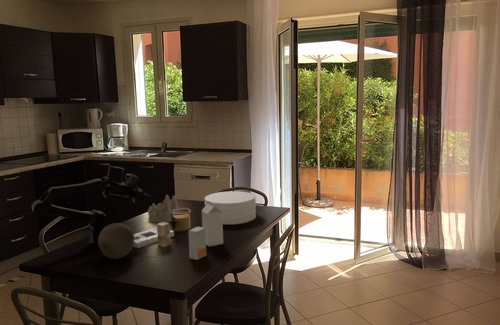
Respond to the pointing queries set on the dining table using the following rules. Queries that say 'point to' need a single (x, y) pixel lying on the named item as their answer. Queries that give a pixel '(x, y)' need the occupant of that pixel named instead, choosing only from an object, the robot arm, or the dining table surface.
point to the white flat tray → (147, 237)
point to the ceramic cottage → (162, 210)
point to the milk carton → (212, 224)
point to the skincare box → (197, 243)
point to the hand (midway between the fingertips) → (149, 194)
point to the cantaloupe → (116, 240)
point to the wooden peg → (163, 234)
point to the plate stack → (234, 206)
